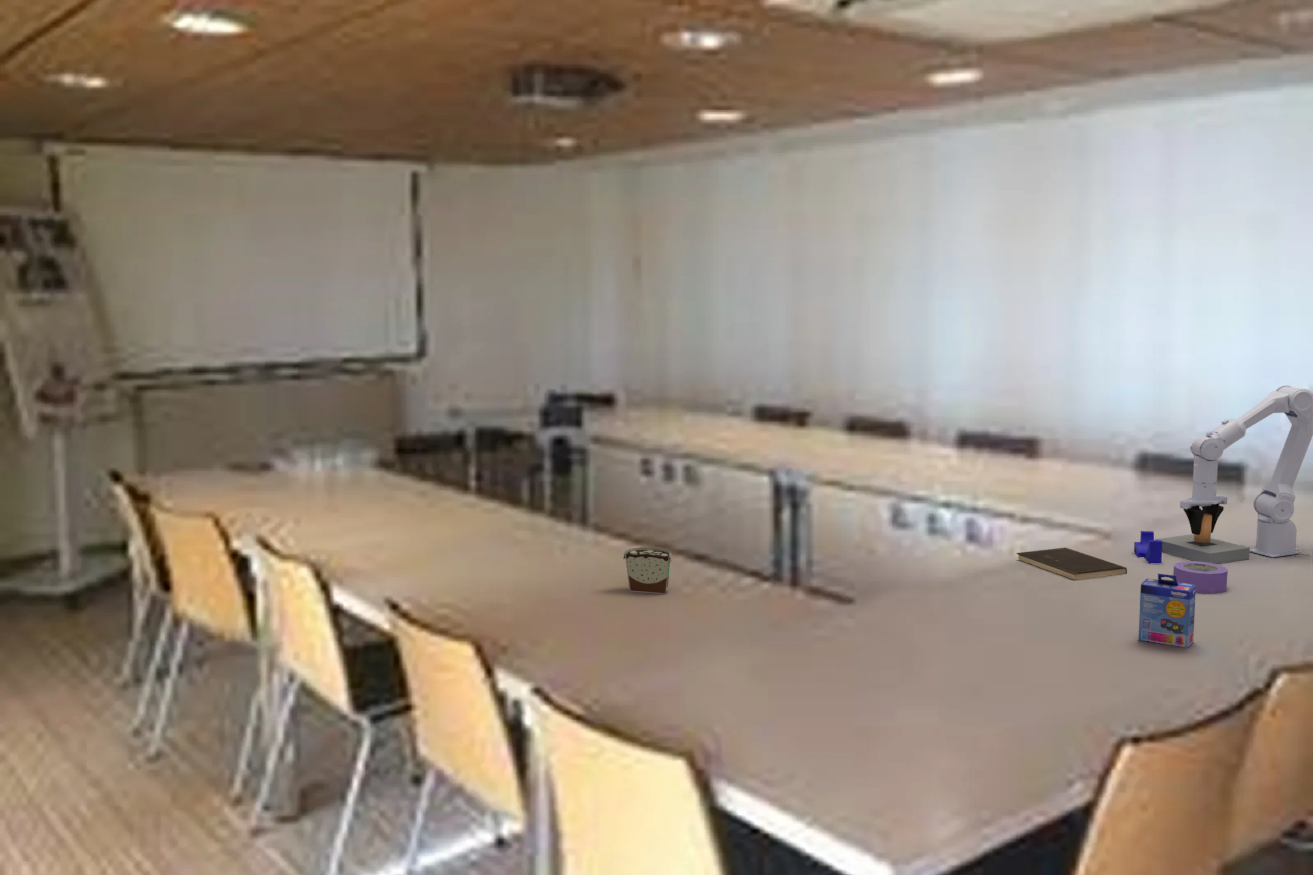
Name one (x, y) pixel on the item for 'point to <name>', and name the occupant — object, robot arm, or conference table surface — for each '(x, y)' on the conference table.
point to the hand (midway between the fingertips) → (1202, 533)
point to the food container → (648, 569)
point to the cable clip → (1149, 547)
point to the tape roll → (1202, 576)
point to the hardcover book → (1071, 563)
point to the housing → (1204, 549)
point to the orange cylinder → (1205, 529)
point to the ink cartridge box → (1167, 611)
